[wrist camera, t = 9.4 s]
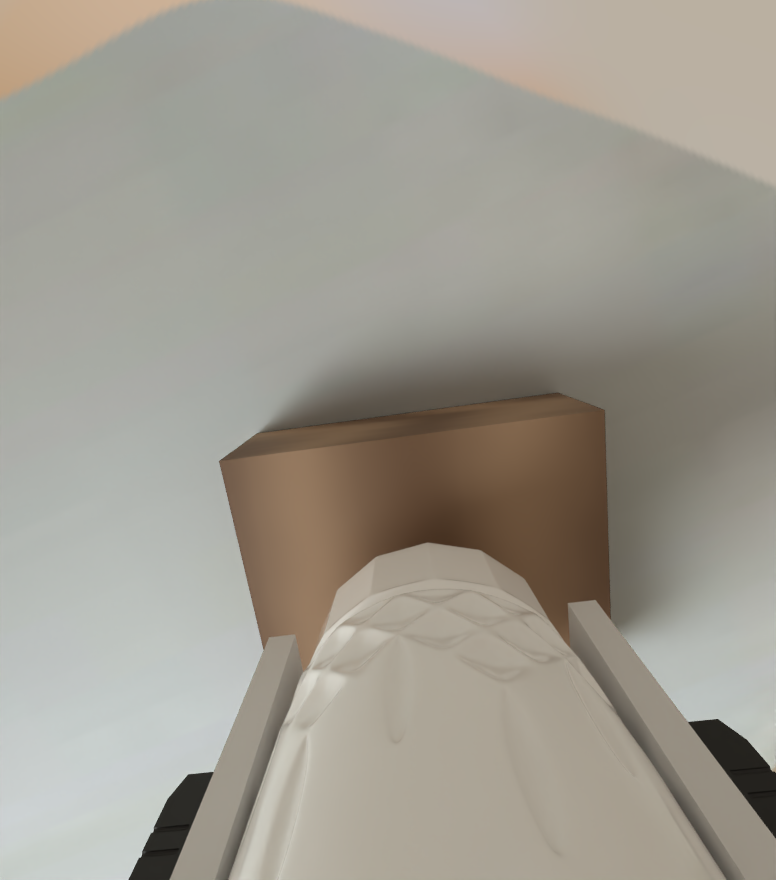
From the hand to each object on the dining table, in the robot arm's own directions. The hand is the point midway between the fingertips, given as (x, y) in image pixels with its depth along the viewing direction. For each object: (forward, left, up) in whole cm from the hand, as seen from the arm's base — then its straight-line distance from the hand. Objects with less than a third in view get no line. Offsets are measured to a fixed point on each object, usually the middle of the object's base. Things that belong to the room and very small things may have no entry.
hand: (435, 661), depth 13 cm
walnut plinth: (0, 0, -7) cm, 7 cm away
